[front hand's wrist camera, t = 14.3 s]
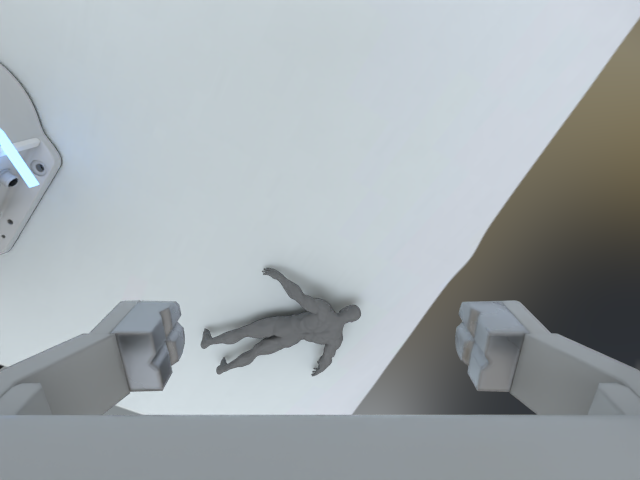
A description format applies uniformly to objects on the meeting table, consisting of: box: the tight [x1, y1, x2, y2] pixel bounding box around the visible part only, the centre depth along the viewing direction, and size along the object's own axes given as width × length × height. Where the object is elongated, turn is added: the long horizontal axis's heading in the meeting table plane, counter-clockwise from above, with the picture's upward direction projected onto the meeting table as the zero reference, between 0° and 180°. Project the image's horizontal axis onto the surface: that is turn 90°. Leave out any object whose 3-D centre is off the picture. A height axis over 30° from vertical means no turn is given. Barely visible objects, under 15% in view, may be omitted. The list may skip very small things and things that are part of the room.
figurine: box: [201, 268, 361, 376], centre depth 44 cm, size 17×4×20 cm
